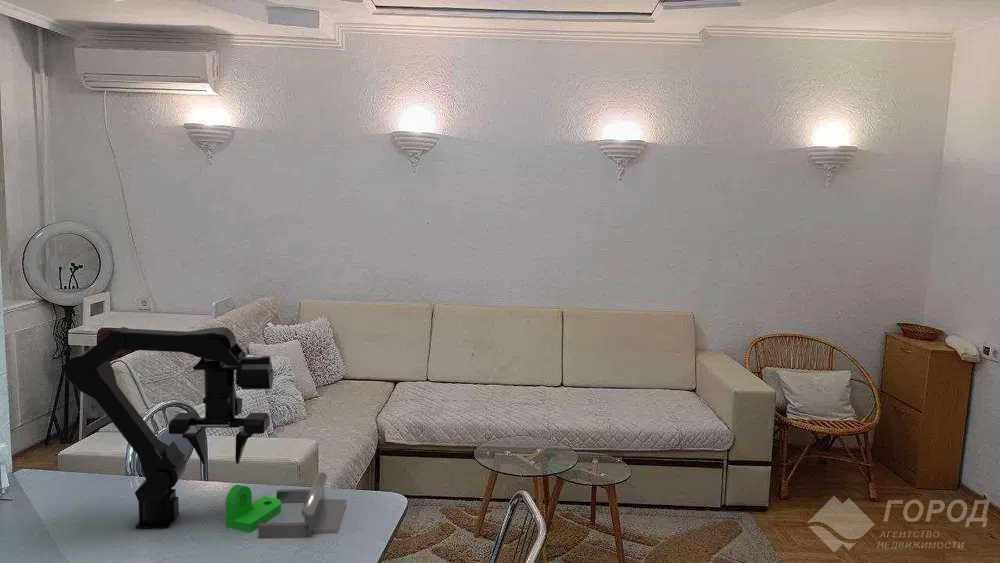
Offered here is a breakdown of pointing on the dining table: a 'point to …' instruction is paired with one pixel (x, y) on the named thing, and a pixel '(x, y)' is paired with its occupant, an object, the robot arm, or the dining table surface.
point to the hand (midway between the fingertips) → (221, 463)
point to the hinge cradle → (307, 512)
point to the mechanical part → (248, 509)
